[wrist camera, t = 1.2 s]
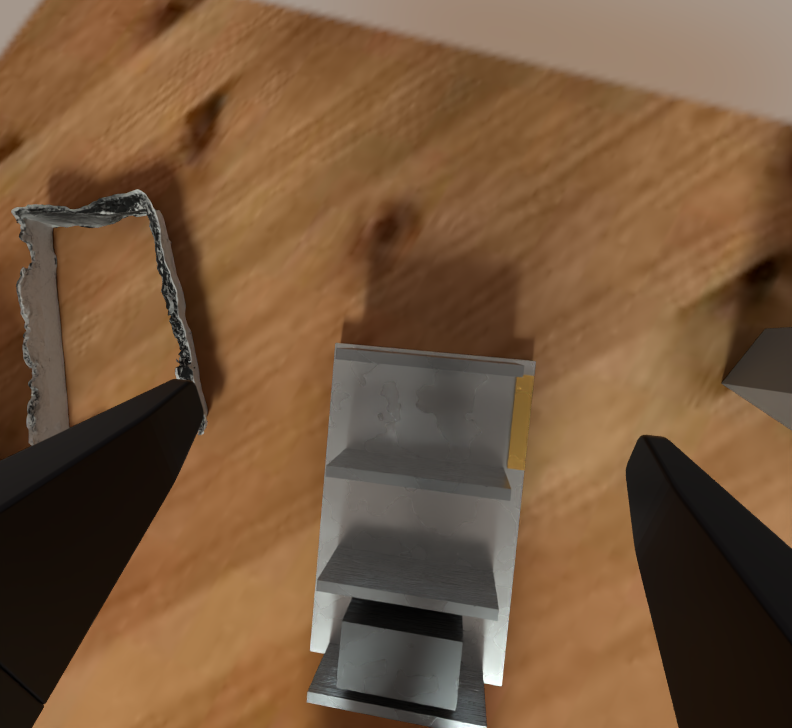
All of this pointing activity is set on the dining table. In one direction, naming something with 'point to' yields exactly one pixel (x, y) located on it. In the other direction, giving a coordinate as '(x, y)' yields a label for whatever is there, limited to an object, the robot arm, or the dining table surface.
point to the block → (767, 374)
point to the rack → (418, 532)
